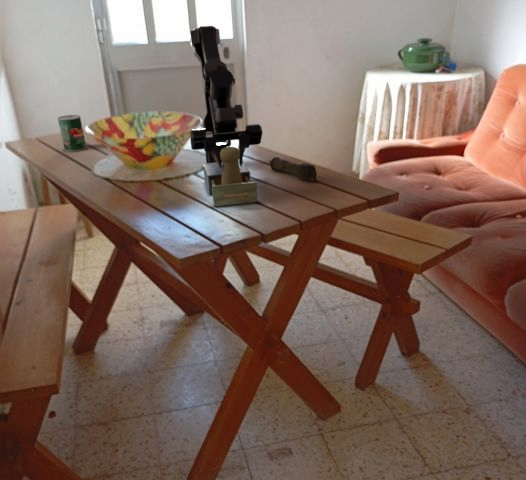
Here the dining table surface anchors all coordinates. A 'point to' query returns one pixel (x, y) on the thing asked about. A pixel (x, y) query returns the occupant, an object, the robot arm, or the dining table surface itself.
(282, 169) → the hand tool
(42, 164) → the dining table surface
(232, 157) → the pawn game piece
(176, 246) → the dining table surface
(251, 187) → the drawer
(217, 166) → the cabinet
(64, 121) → the canned tomato
